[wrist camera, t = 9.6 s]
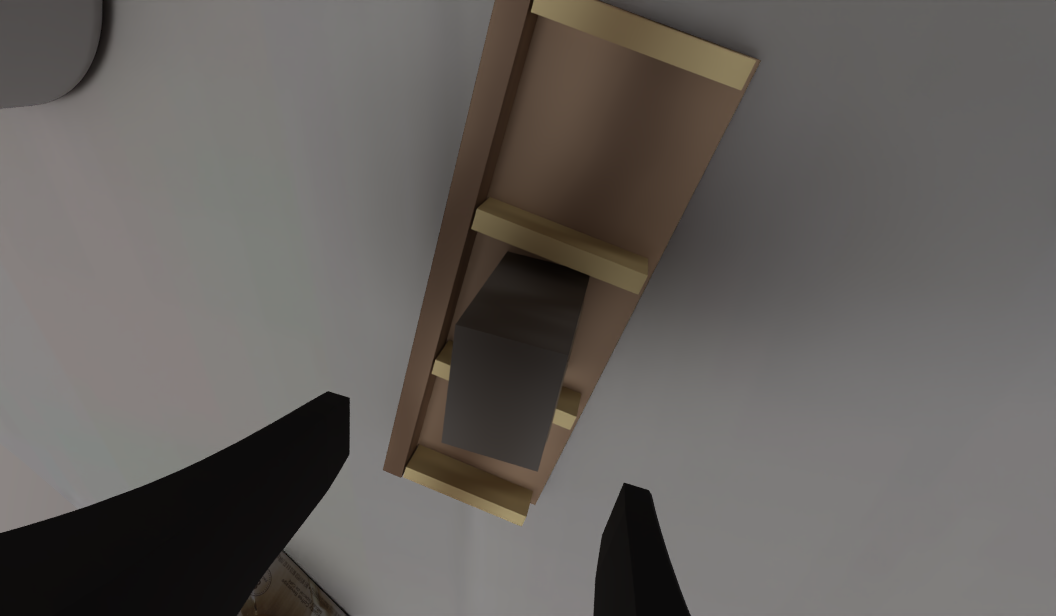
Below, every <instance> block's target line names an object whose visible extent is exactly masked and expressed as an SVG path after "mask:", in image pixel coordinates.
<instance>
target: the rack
mask: <svg viewBox="0 0 1056 616" xmlns="http://www.w3.org/2000/svg"><path fill="white" fill-rule="evenodd" d="M760 61H761V60H758V59H755V58H753V57H750V56H747V55H745V54H742V53H739V52H736V51H734V50H731V49H728V48H726V47H723V46H720V45H718V44H715V43H712V42H709V41H707V40H704V39H701V38H699V37H696V36H693V35H691V34H688V33H685V32H682V31H680V30H677V29H674V28H672V27H669V26H666V25H664V24H661V23H658V22H655V21H653V20H650V19H647V18H645V17H642V16H639V15H637V14H634V13H631V12H629V11H626V10H623V9H620V8H618V7H615V6H612V5H610V4H607V3H604V2H602V1H599V0H495V2H494V6H493V11H492V15H491V19H490V23H489V27H488V32H487V36H486V40H485V44H484V48H483V53H482V57H481V61H480V65H479V69H478V74H477V78H476V82H475V86H474V90H473V94H472V99H471V103H470V107H469V111H468V115H467V120H466V124H465V128H464V132H463V136H462V141H461V145H460V149H459V153H458V157H457V162H456V166H455V170H454V174H453V178H452V183H451V187H450V191H449V195H448V199H447V204H446V208H445V212H444V216H443V220H442V225H441V229H440V233H439V237H438V241H437V245H436V250H435V254H434V258H433V262H432V266H431V271H430V275H429V279H428V283H427V287H426V292H425V296H424V300H423V304H422V308H421V313H420V317H419V321H418V325H417V329H416V334H415V338H414V342H413V346H412V350H411V355H410V359H409V363H408V367H407V371H406V376H405V380H404V384H403V388H402V392H401V396H400V401H399V405H398V409H397V413H396V417H395V422H394V426H393V430H392V434H391V438H390V443H389V447H388V451H387V455H386V459H385V464H384V468H383V470H384V471H386V472H389V473H391V474H394V475H396V476H398V477H402V475H403V474H404V478H407V479H409V480H411V481H414V482H416V483H419V484H421V485H423V486H426V487H428V488H431V489H433V490H435V491H438V492H440V493H443V494H445V495H447V496H450V497H452V498H454V499H457V500H459V501H462V502H464V503H466V504H469V505H471V506H474V507H476V508H478V509H481V510H483V511H486V512H488V513H490V514H493V515H495V516H498V517H500V518H502V519H505V520H507V521H510V522H512V523H514V524H517V525H519V526H522V524H523V522H524V520H525V518H526V516H527V512H528V509H529V505H530V503H531V504H534V505H535V504H536V502H537V500H538V498H539V496H540V494H541V492H542V490H543V488H544V486H545V484H546V482H547V480H548V478H549V476H550V474H551V472H552V470H553V468H554V466H555V464H556V463H557V461H558V459H559V457H560V455H561V453H562V451H563V449H564V447H565V445H566V443H567V441H568V439H569V437H570V435H571V433H572V431H573V429H574V427H575V425H576V423H577V421H578V419H579V417H580V415H581V413H582V411H583V409H584V407H585V406H586V404H587V402H588V400H589V398H590V396H591V394H592V392H593V390H594V388H595V386H596V384H597V382H598V380H599V378H600V376H601V374H602V372H603V370H604V368H605V366H606V364H607V362H608V360H609V358H610V356H611V354H612V352H613V350H614V349H615V347H616V345H617V343H618V341H619V339H620V337H621V335H622V333H623V331H624V329H625V327H626V325H627V323H628V321H629V319H630V317H631V315H632V313H633V311H634V309H635V307H636V305H637V303H638V301H639V299H640V297H641V295H642V293H643V291H644V290H645V288H646V286H647V284H648V282H649V280H650V278H651V276H652V274H653V272H654V270H655V268H656V266H657V264H658V262H659V260H660V258H661V256H662V254H663V252H664V250H665V248H666V246H667V244H668V242H669V240H670V238H671V236H672V234H673V233H674V231H675V229H676V227H677V225H678V223H679V221H680V219H681V217H682V215H683V213H684V211H685V209H686V207H687V205H688V203H689V201H690V199H691V197H692V195H693V193H694V191H695V189H696V187H697V185H698V183H699V181H700V179H701V177H702V176H703V174H704V172H705V170H706V168H707V166H708V164H709V162H710V160H711V158H712V156H713V154H714V152H715V150H716V148H717V146H718V144H719V142H720V140H721V138H722V136H723V134H724V132H725V130H726V128H727V126H728V124H729V122H730V120H731V119H732V117H733V115H734V113H735V111H736V109H737V107H738V105H739V103H740V101H741V99H742V97H743V95H744V93H745V91H746V89H747V87H748V85H749V83H750V81H751V79H752V77H753V75H754V73H755V71H756V69H757V67H758V65H759V63H760ZM507 251H508V252H512V253H516V254H520V255H524V256H528V257H532V258H536V259H540V260H544V261H548V262H552V263H556V264H560V265H564V266H566V267H569V268H572V269H574V270H577V271H579V272H582V273H584V274H587V275H589V276H590V278H589V282H588V286H587V289H586V293H585V297H584V301H585V302H584V306H583V309H582V313H581V317H580V321H579V325H578V328H577V332H576V336H575V340H574V344H573V347H572V351H571V355H570V359H569V362H568V366H567V370H566V374H565V377H564V381H563V385H562V389H561V392H560V396H559V400H558V404H557V407H556V411H555V415H554V419H553V422H552V426H551V430H550V434H549V438H548V441H547V442H546V443H545V447H544V451H543V454H542V458H541V462H540V466H539V469H538V472H537V471H533V470H530V469H527V468H523V467H520V466H517V465H513V464H510V463H507V462H503V461H500V460H497V459H494V458H490V457H487V456H484V455H480V454H477V453H474V452H470V451H467V450H464V449H460V448H457V447H454V446H451V445H447V444H444V443H441V441H442V433H443V424H444V416H445V408H446V399H447V391H448V382H449V374H450V365H451V357H452V348H453V340H454V331H455V324H456V323H457V321H458V320H459V319H460V317H461V316H462V314H463V313H464V312H465V310H466V309H467V307H468V306H469V305H470V303H471V302H472V300H473V299H474V298H475V296H476V295H477V293H478V292H479V291H480V289H481V288H482V286H483V285H484V284H485V282H486V281H487V279H488V278H489V276H490V275H491V274H492V272H493V271H494V269H495V268H496V267H497V265H498V264H499V262H500V261H501V260H502V258H503V257H504V255H505V254H506V253H507ZM404 472H405V473H404Z"/></svg>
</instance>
